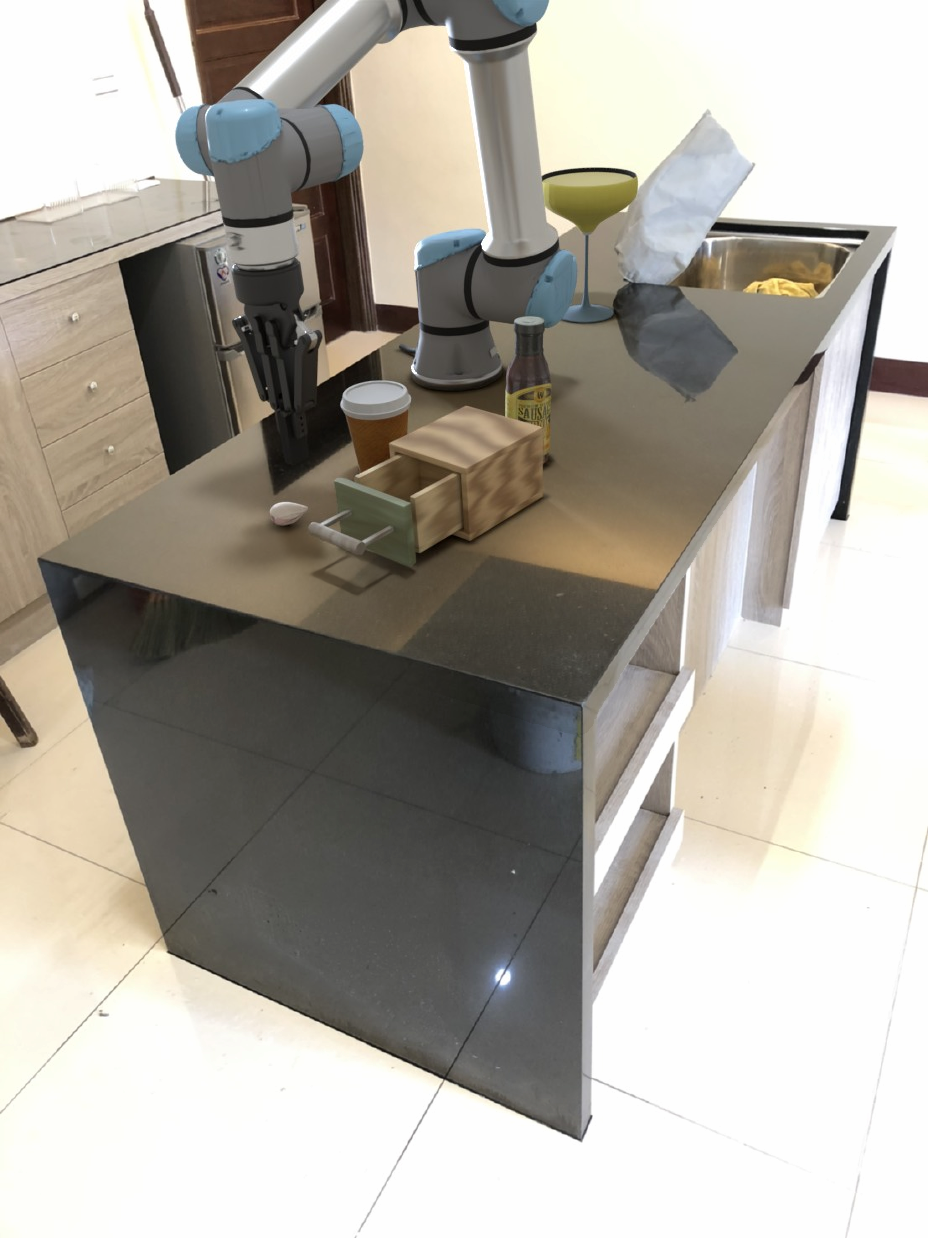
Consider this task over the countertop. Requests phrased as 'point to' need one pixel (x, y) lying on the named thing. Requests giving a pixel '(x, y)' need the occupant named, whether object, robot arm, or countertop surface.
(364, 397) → the disposable coffee cup
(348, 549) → the drawer
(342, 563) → the countertop surface
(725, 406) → the countertop surface
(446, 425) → the cabinet
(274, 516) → the white teardrop piece
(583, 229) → the cocktail glass
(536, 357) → the sauce bottle
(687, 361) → the countertop surface
